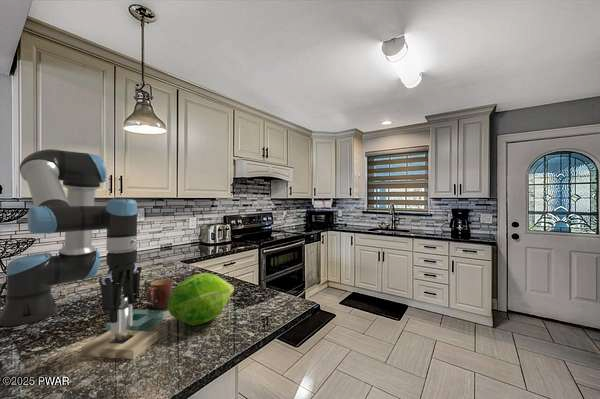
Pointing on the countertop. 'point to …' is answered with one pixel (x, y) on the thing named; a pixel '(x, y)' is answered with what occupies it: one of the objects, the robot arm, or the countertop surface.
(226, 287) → the lettuce
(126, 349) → the wooden square-hole plate
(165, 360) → the countertop surface
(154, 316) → the socket
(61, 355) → the countertop surface
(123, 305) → the metal cylinder rod
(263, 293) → the countertop surface
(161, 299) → the mug
